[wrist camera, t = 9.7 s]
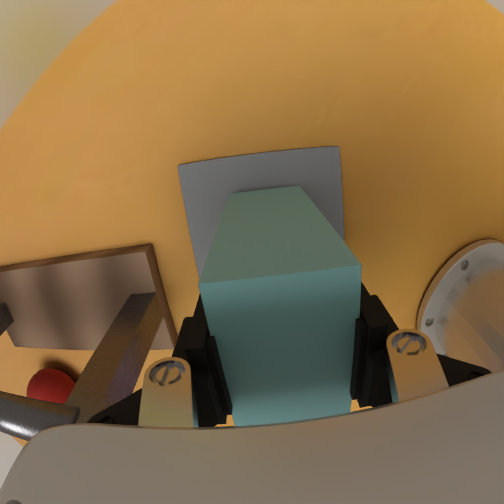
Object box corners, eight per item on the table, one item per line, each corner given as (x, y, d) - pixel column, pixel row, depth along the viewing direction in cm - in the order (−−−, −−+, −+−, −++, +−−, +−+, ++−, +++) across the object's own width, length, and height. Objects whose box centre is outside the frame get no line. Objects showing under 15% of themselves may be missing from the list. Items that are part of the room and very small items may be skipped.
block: (299, 185, 18) (361, 264, 7) (306, 279, 20) (349, 417, 10) (229, 193, 18) (198, 284, 8) (243, 287, 20) (236, 431, 10)
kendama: (170, 445, 32) (67, 355, 24) (158, 488, 27) (38, 409, 19) (126, 440, 35) (31, 357, 26) (113, 477, 29) (5, 400, 21)
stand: (155, 289, 21) (81, 438, 9) (164, 318, 22) (107, 469, 10) (-7, 301, 22) (-85, 380, 10) (2, 323, 22) (-68, 404, 11)
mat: (336, 145, 19) (339, 146, 18) (342, 286, 22) (344, 290, 22) (179, 164, 19) (177, 165, 19) (206, 302, 23) (205, 306, 22)
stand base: (151, 243, 21) (145, 251, 20) (177, 337, 24) (174, 348, 23) (-9, 268, 22) (-18, 274, 21) (21, 338, 25) (14, 346, 23)
